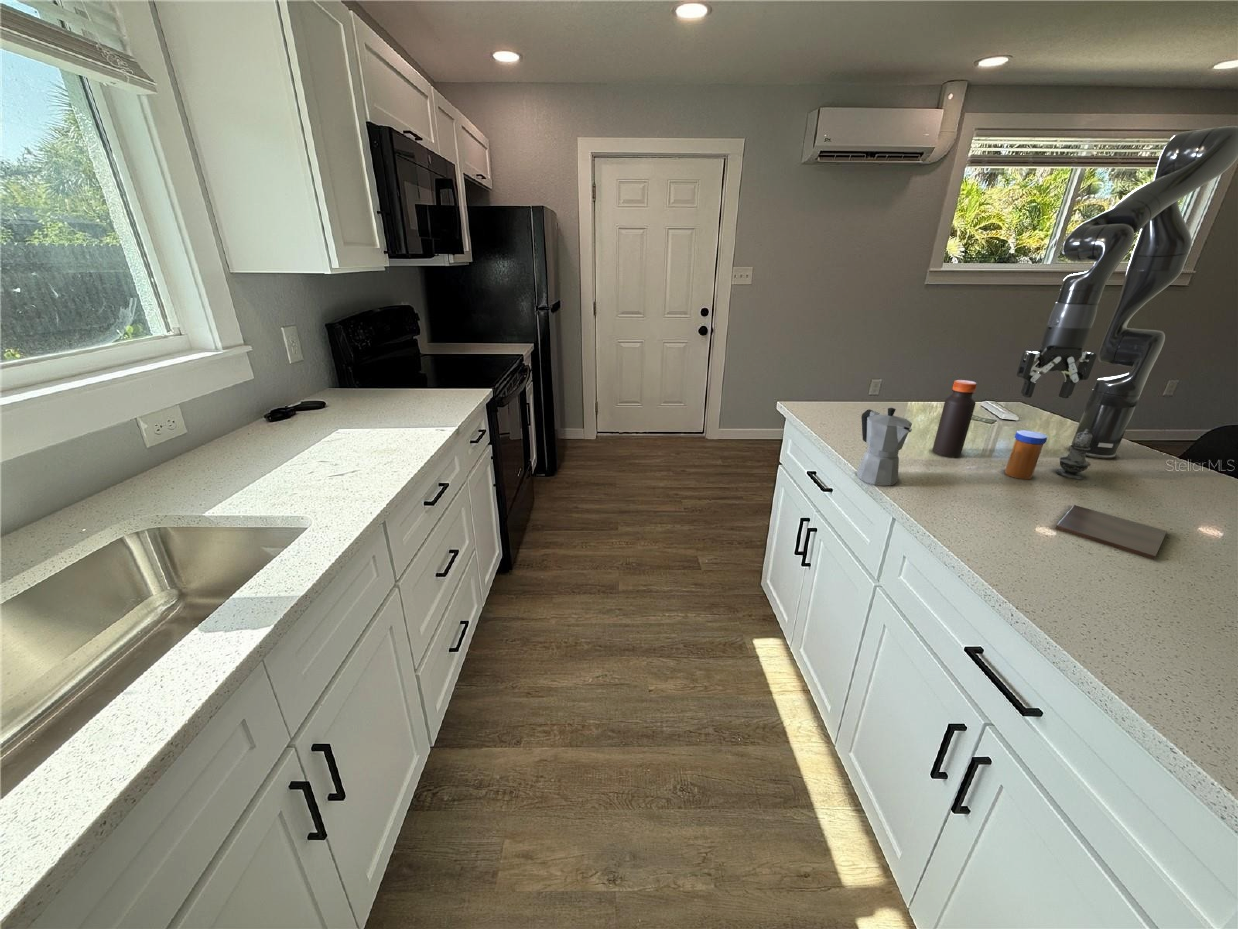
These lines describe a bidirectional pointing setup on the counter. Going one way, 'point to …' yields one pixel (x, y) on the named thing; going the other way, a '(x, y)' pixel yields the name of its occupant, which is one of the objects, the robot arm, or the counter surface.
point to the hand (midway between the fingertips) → (1044, 397)
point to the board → (1113, 531)
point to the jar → (1023, 459)
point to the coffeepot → (882, 446)
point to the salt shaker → (1076, 457)
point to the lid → (1031, 437)
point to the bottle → (955, 420)
